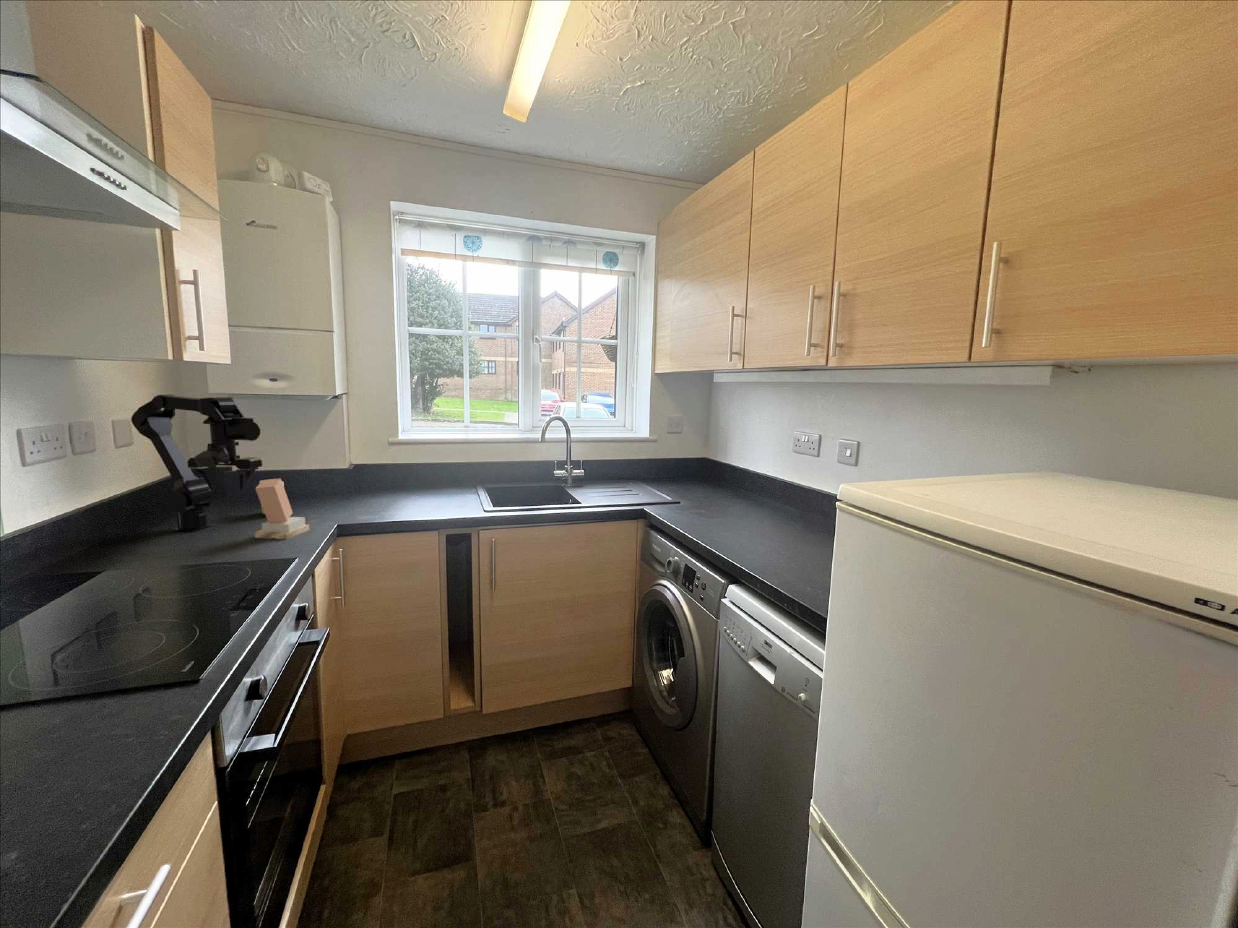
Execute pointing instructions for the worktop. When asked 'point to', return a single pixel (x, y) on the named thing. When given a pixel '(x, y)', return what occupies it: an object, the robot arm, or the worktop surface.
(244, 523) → the worktop surface
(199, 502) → the robot arm
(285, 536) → the base slab
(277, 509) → the pillar block
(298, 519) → the top slab
